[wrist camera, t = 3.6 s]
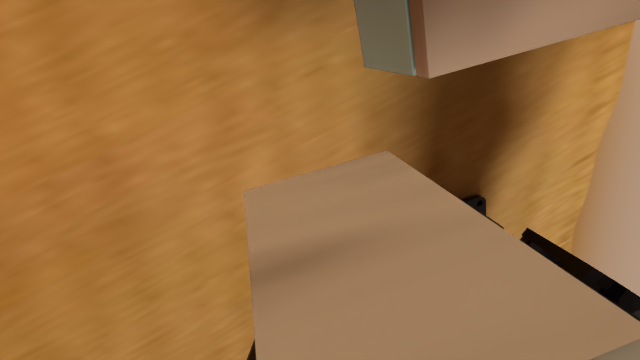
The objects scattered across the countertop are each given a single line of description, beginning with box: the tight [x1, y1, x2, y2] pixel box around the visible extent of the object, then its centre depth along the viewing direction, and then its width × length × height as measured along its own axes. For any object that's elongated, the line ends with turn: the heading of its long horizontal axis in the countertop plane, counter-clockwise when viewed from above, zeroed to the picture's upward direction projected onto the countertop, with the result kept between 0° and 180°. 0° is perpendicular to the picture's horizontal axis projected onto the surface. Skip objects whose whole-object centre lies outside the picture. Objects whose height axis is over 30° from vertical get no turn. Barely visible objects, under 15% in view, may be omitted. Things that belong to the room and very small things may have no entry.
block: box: [244, 150, 640, 360], centre depth 7 cm, size 6×4×6 cm, turn 12°
